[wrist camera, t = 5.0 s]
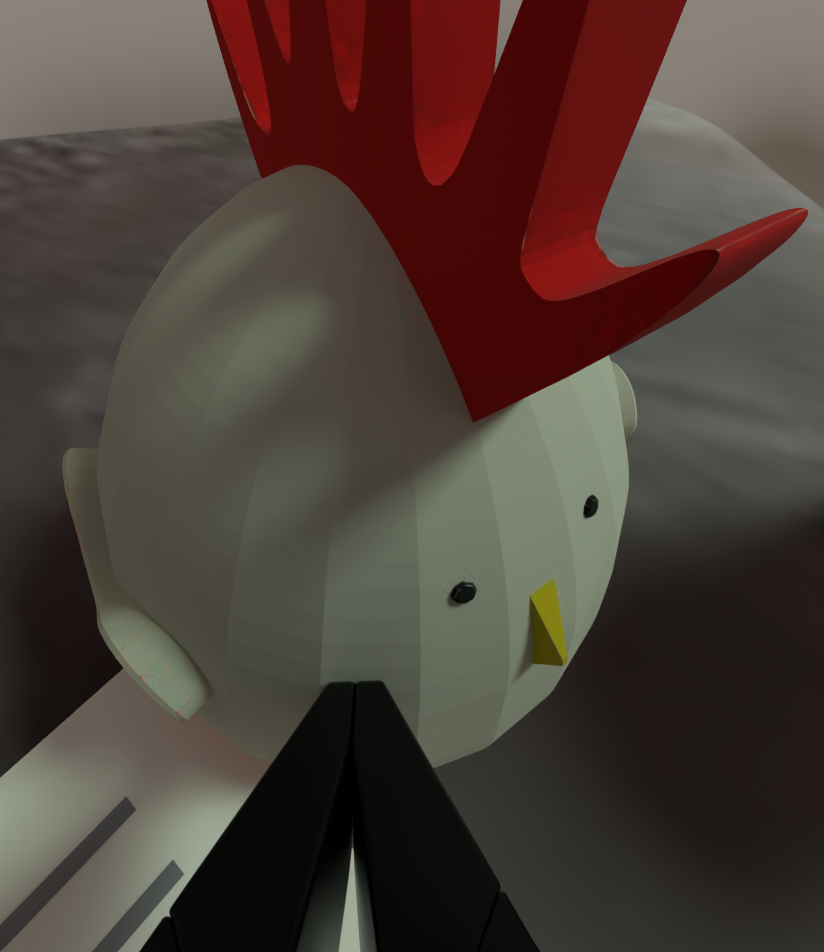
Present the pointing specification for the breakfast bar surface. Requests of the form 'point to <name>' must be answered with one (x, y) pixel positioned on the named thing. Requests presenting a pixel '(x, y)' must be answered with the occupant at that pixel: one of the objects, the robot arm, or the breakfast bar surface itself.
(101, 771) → the letter
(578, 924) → the breakfast bar surface
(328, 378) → the kitchen timer
